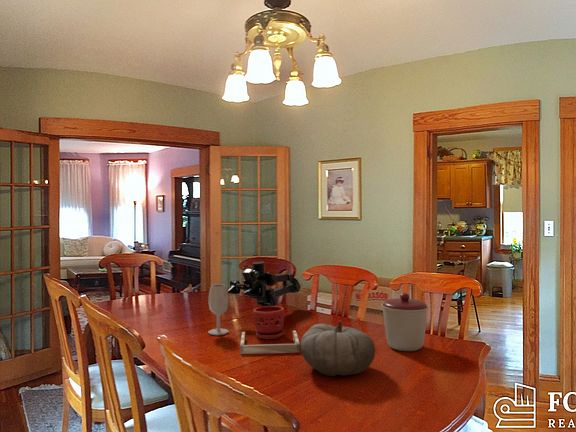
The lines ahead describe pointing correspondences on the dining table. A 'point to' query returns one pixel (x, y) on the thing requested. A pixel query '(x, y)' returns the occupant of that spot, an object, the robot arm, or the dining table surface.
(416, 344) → the canister
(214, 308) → the wineglass
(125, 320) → the dining table surface
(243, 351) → the frame
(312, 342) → the gourd
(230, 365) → the dining table surface
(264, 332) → the plant pot
